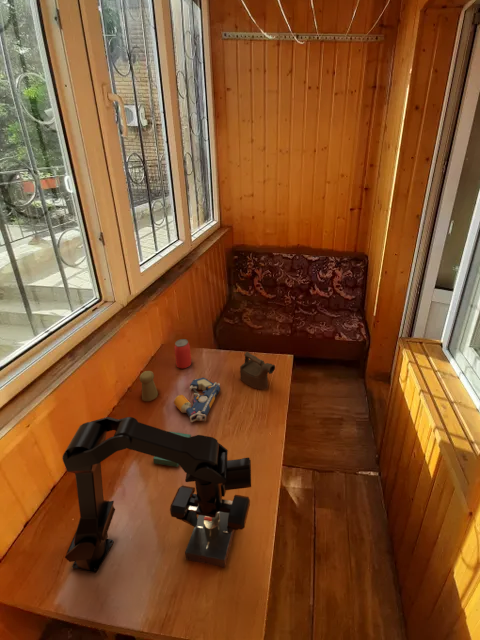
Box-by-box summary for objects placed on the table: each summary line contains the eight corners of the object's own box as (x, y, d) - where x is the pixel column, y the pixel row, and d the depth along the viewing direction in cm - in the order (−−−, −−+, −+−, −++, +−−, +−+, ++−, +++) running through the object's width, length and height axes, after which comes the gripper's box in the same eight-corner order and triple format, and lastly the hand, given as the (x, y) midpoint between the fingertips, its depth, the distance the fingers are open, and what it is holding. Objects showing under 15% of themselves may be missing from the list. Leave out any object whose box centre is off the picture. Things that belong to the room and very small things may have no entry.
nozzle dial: (222, 522, 81) (222, 511, 80) (217, 540, 78) (216, 529, 76) (208, 519, 82) (207, 508, 80) (202, 537, 78) (201, 526, 77)
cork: (138, 399, 124) (134, 377, 120) (148, 388, 129) (145, 367, 125) (151, 402, 122) (147, 380, 118) (161, 391, 127) (157, 370, 124)
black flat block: (225, 567, 75) (224, 559, 74) (186, 559, 76) (184, 551, 75) (238, 516, 85) (237, 509, 84) (203, 510, 87) (202, 503, 85)
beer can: (175, 361, 145) (173, 340, 141) (190, 358, 148) (188, 336, 143) (177, 370, 139) (174, 348, 135) (192, 366, 142) (190, 344, 138)
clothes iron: (264, 398, 125) (264, 371, 121) (239, 378, 135) (238, 353, 131) (278, 387, 131) (278, 361, 126) (252, 369, 141) (252, 344, 136)
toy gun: (165, 420, 114) (204, 426, 112) (164, 411, 113) (203, 417, 111) (190, 381, 134) (223, 386, 132) (190, 373, 132) (223, 378, 130)
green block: (177, 467, 98) (176, 458, 97) (154, 463, 99) (152, 454, 98) (191, 439, 107) (190, 430, 106) (169, 436, 108) (168, 427, 107)
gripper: (254, 460, 80) (255, 500, 86) (186, 449, 83) (191, 489, 88) (242, 506, 70) (244, 549, 75) (165, 493, 73) (172, 535, 78)
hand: (212, 527), depth 79 cm, fingers open, 9 cm apart
